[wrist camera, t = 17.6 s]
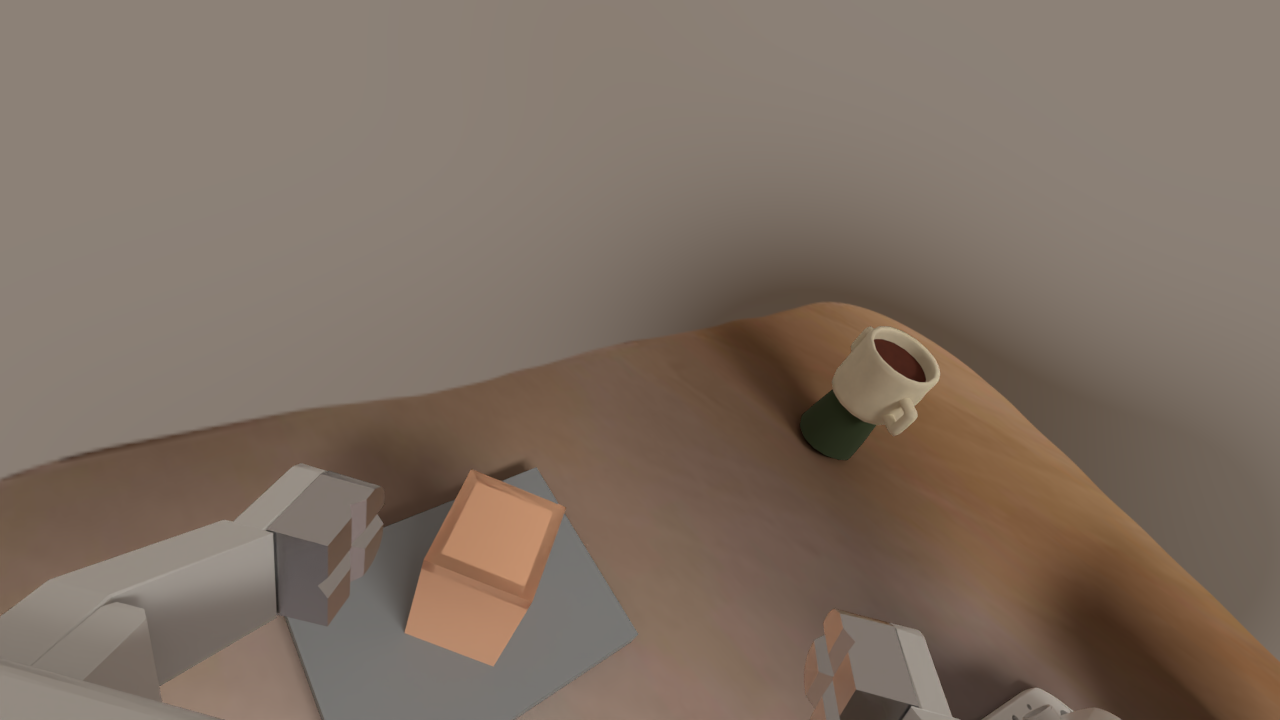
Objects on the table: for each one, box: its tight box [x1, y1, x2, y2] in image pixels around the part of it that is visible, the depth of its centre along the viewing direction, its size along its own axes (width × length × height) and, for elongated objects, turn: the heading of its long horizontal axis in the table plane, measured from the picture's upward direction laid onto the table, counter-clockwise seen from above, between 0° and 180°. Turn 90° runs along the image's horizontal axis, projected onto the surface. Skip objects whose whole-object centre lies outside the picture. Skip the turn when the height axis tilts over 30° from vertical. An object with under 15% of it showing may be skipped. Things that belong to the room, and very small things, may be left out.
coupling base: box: [285, 468, 638, 720], centre depth 37 cm, size 18×14×9 cm
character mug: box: [800, 326, 940, 460], centre depth 59 cm, size 11×7×13 cm, turn 6°
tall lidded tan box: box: [404, 469, 566, 666], centre depth 36 cm, size 6×6×10 cm
